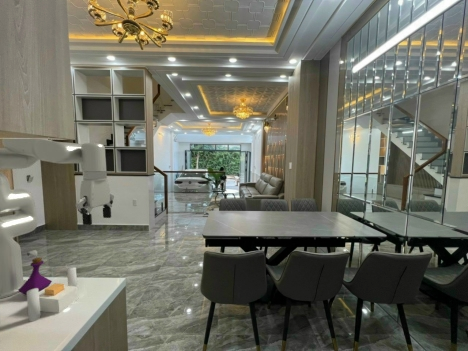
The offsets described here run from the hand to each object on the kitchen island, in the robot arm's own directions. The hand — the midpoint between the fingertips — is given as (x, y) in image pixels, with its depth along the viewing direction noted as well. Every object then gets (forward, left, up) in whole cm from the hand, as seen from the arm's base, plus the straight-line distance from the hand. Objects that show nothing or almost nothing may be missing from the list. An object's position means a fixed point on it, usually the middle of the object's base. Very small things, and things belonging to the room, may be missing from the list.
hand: (98, 221), depth 83 cm
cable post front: (-16, -12, -31) cm, 37 cm away
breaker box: (-16, -5, -31) cm, 35 cm away
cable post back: (-16, +3, -31) cm, 35 cm away
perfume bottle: (-31, 0, -31) cm, 44 cm away
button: (-16, -5, -28) cm, 33 cm away
